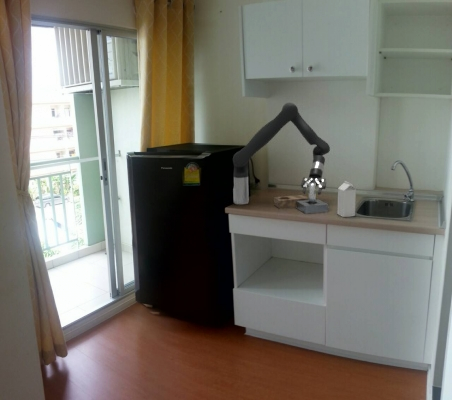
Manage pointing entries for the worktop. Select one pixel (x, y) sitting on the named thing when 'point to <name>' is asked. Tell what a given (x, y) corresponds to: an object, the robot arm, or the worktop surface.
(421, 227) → the worktop surface
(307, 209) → the holder
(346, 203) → the milk carton
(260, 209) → the worktop surface
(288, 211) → the worktop surface
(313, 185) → the axle
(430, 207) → the worktop surface
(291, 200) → the wooden block with hole
